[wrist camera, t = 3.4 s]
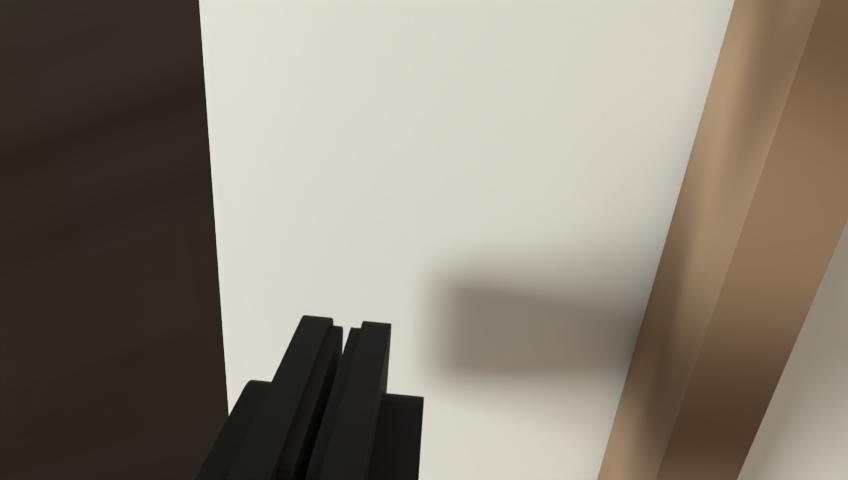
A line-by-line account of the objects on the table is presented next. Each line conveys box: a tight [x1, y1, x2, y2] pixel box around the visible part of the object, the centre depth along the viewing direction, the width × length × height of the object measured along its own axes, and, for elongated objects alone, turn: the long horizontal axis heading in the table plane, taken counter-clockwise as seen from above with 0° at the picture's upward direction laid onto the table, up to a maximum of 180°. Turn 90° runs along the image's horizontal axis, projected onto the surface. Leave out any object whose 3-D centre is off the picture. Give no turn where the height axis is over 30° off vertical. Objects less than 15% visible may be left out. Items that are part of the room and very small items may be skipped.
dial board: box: [199, 0, 848, 480], centre depth 14 cm, size 25×27×2 cm
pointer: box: [597, 0, 848, 480], centre depth 11 cm, size 21×4×3 cm, turn 175°
